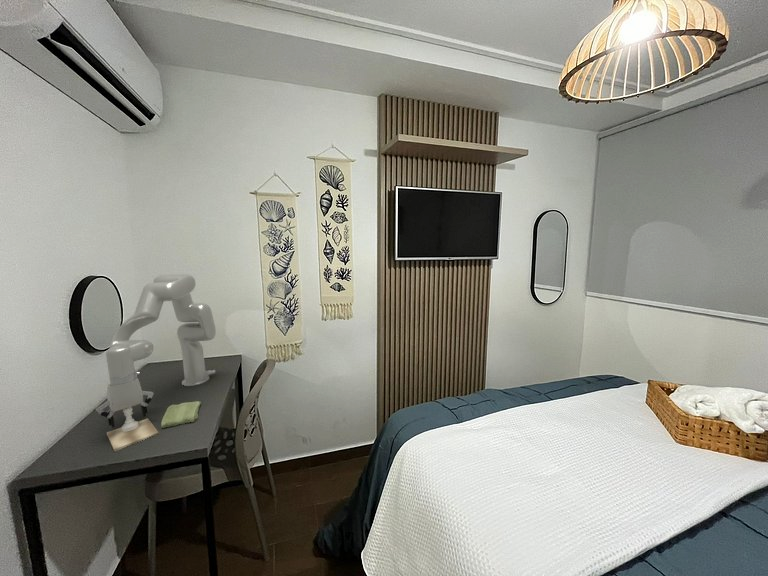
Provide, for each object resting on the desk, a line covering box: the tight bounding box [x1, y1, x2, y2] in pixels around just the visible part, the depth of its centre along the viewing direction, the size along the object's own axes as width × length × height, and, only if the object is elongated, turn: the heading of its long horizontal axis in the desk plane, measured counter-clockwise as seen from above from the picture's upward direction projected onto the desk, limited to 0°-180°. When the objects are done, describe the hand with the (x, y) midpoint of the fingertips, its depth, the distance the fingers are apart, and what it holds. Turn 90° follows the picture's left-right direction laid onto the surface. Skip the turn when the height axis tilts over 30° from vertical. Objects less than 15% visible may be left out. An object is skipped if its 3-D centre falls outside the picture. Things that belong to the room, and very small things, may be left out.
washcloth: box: [160, 401, 202, 429], centre depth 133 cm, size 13×18×3 cm
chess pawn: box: [121, 406, 139, 432], centre depth 122 cm, size 5×5×9 cm
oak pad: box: [106, 417, 160, 452], centre depth 120 cm, size 13×16×1 cm
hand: (129, 420), depth 122 cm, fingers open, 9 cm apart
